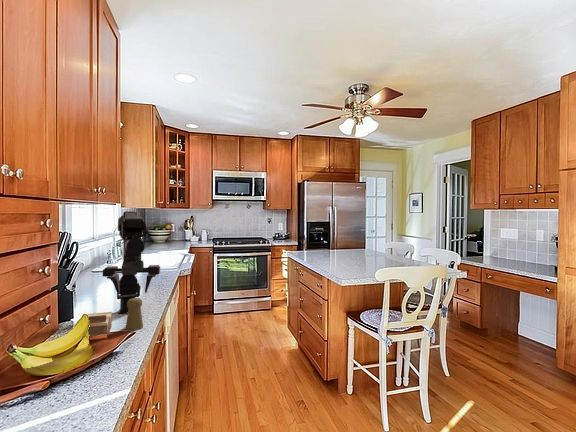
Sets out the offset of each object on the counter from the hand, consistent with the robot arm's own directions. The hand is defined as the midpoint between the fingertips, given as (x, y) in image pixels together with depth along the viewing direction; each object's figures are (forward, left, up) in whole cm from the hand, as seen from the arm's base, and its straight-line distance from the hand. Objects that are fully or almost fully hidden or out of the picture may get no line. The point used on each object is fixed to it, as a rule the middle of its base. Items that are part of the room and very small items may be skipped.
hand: (132, 293), depth 118 cm
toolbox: (+1, -11, -13) cm, 17 cm away
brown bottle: (-1, +1, -13) cm, 13 cm away
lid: (+1, -11, -9) cm, 14 cm away
